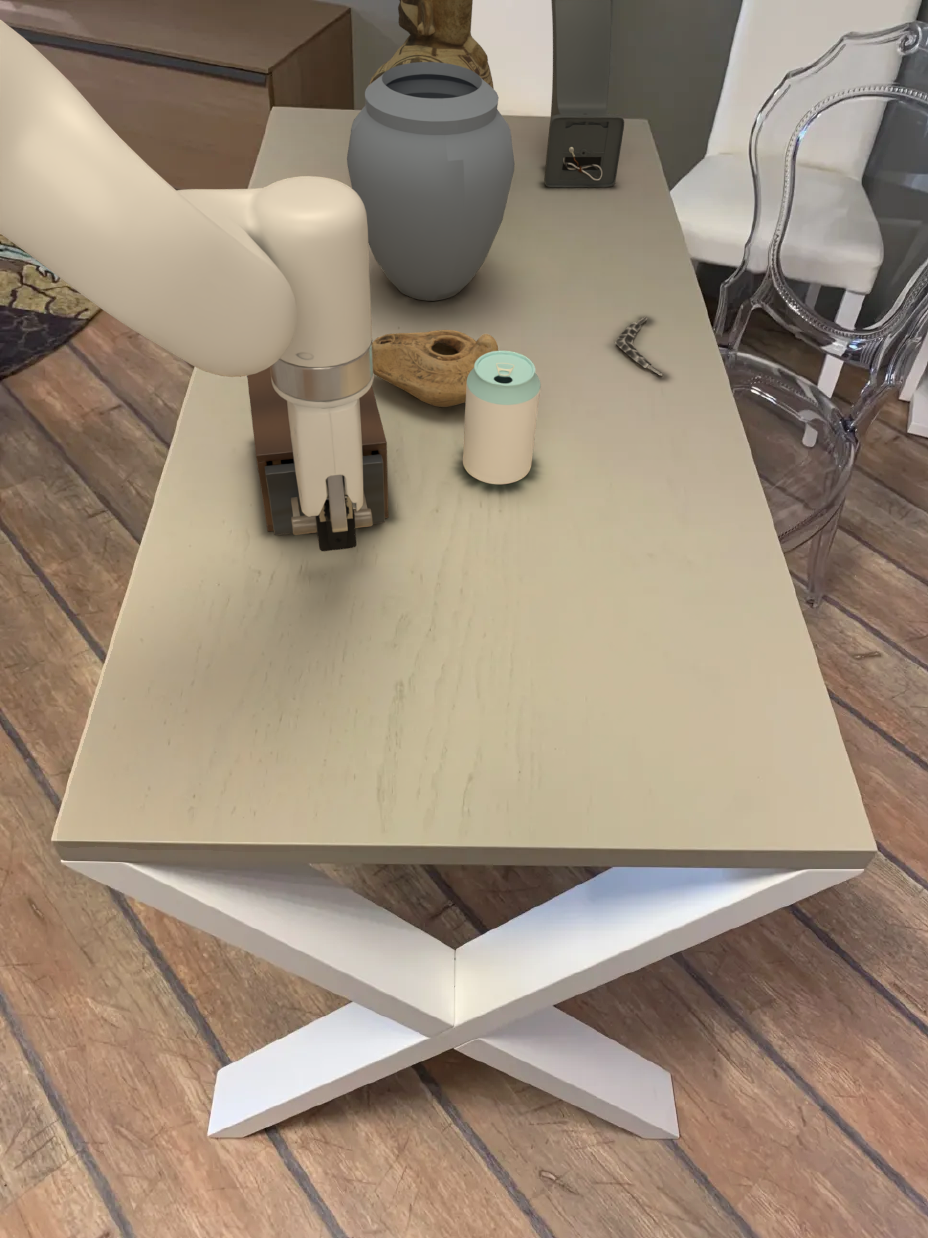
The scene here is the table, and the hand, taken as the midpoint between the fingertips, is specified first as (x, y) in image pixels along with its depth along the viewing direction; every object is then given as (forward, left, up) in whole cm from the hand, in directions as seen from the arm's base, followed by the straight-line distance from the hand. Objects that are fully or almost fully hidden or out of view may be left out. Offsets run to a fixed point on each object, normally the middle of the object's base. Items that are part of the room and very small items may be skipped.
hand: (337, 543), depth 82 cm
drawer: (0, +10, -4) cm, 10 cm away
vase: (+18, +50, -5) cm, 54 cm away
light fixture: (+47, +84, -5) cm, 96 cm away
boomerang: (+40, +33, -5) cm, 52 cm away
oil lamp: (+14, +27, -5) cm, 31 cm away
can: (+18, +13, -5) cm, 23 cm away
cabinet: (0, +14, -4) cm, 15 cm away
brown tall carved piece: (+24, +82, -5) cm, 86 cm away
